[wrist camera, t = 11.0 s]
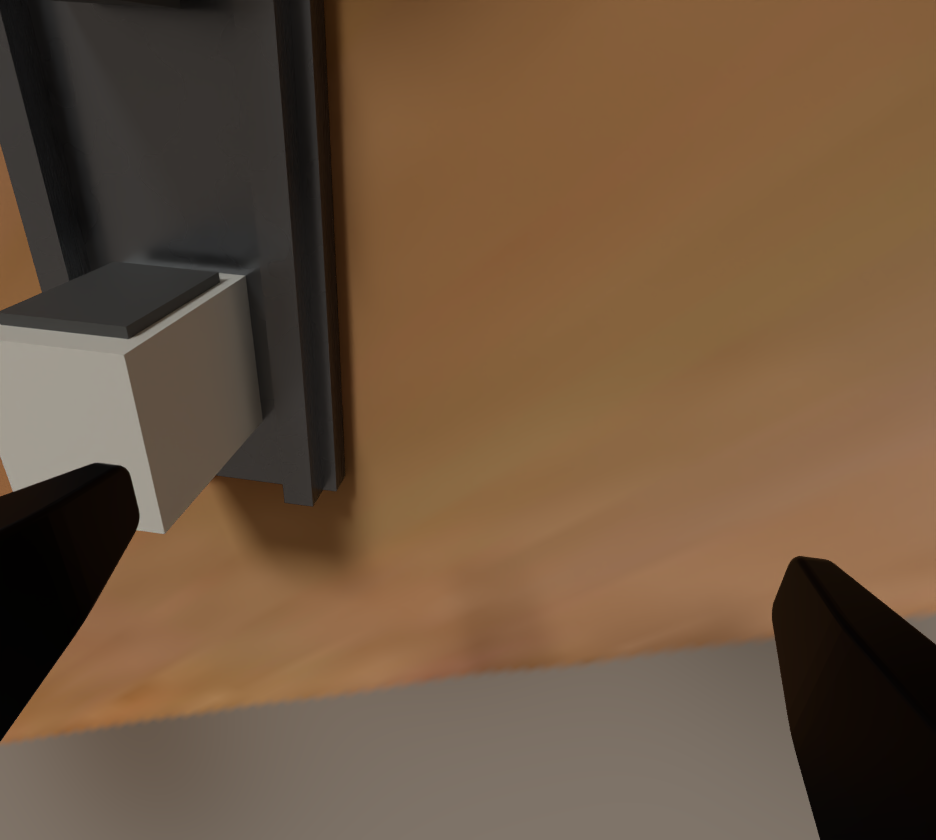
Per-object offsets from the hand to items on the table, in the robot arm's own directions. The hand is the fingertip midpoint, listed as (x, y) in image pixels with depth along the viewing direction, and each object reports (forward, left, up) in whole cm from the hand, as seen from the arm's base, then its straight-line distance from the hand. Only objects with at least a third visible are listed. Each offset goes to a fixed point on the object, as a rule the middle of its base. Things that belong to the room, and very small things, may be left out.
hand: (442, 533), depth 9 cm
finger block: (+10, +3, -11) cm, 15 cm away
